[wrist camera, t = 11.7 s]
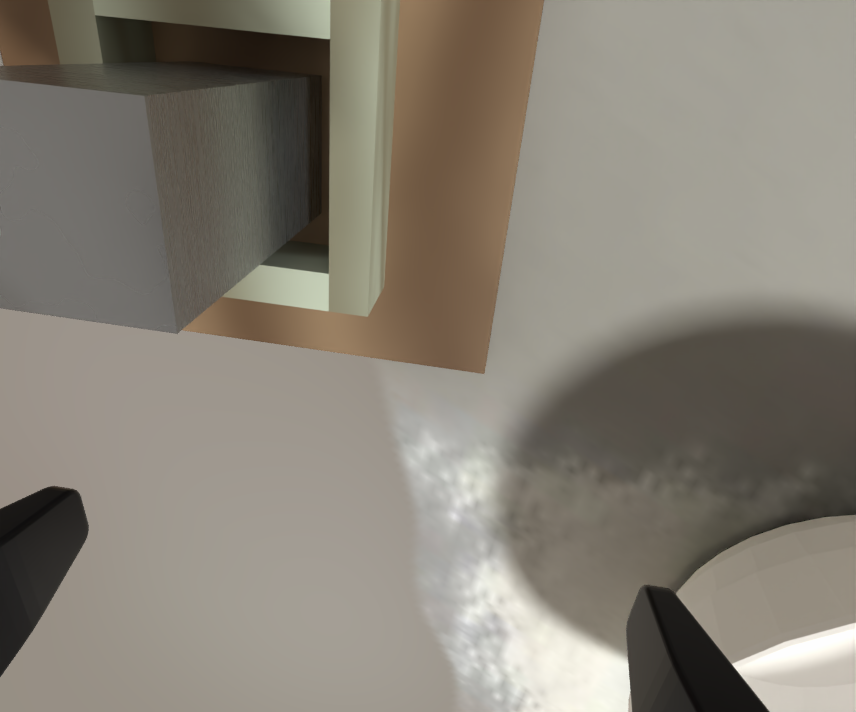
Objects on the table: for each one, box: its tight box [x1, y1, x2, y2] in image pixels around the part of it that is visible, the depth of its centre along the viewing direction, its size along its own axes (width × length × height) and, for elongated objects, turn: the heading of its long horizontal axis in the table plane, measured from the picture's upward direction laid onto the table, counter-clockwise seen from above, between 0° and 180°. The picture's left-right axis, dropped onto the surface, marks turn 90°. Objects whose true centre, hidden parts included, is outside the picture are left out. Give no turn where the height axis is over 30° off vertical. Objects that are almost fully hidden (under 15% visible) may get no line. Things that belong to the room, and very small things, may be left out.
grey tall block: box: [0, 61, 322, 334], centre depth 14 cm, size 4×4×9 cm
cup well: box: [0, 0, 544, 374], centre depth 17 cm, size 16×14×4 cm
